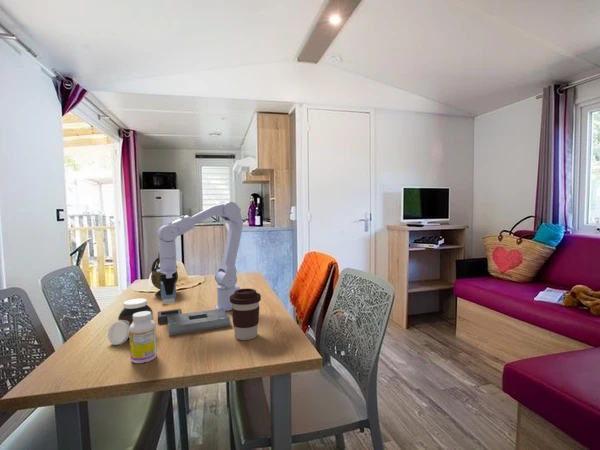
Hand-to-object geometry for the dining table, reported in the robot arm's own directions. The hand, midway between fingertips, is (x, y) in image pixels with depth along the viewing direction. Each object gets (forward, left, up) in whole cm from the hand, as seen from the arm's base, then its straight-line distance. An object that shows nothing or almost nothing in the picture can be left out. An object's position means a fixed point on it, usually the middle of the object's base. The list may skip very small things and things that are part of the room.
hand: (169, 293), depth 122 cm
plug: (0, 0, -4) cm, 4 cm away
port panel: (-9, +11, -10) cm, 17 cm away
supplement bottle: (+8, +31, -10) cm, 34 cm away
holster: (0, 0, -10) cm, 10 cm away
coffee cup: (-22, +28, -10) cm, 37 cm away
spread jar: (+12, +14, -10) cm, 21 cm away
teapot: (+1, -35, -10) cm, 36 cm away
